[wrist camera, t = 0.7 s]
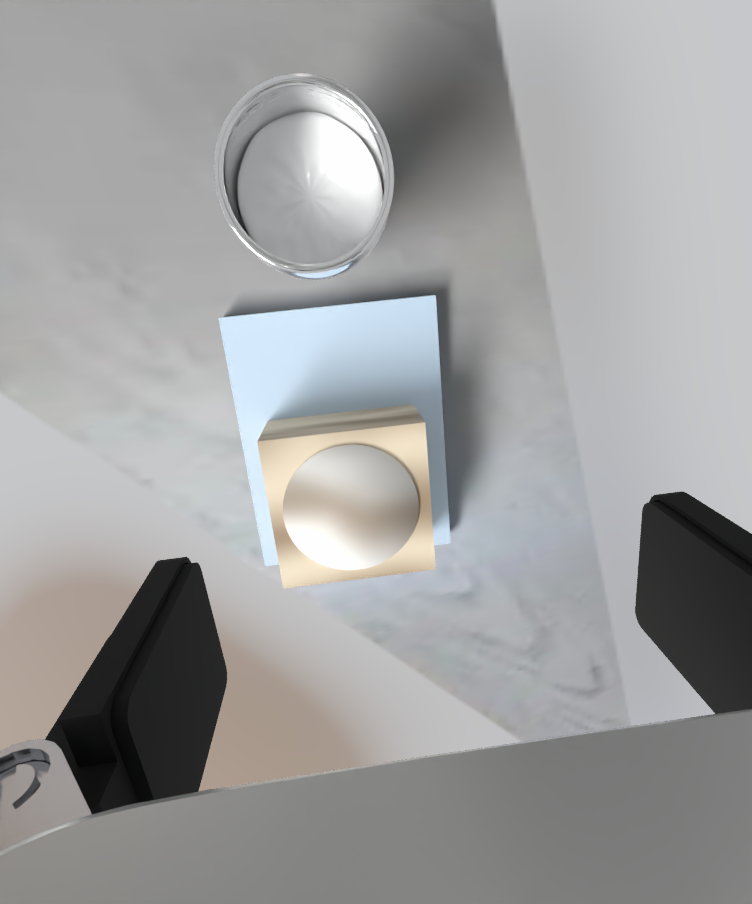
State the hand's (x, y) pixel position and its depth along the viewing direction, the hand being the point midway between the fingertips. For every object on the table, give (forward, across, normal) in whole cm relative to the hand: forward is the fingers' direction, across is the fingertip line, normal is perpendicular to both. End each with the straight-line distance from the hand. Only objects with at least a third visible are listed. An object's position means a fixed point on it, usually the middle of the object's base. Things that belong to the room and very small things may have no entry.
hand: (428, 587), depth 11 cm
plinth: (+25, +2, +8) cm, 26 cm away
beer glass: (+27, +2, -9) cm, 29 cm away
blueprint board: (+27, +2, +5) cm, 27 cm away
